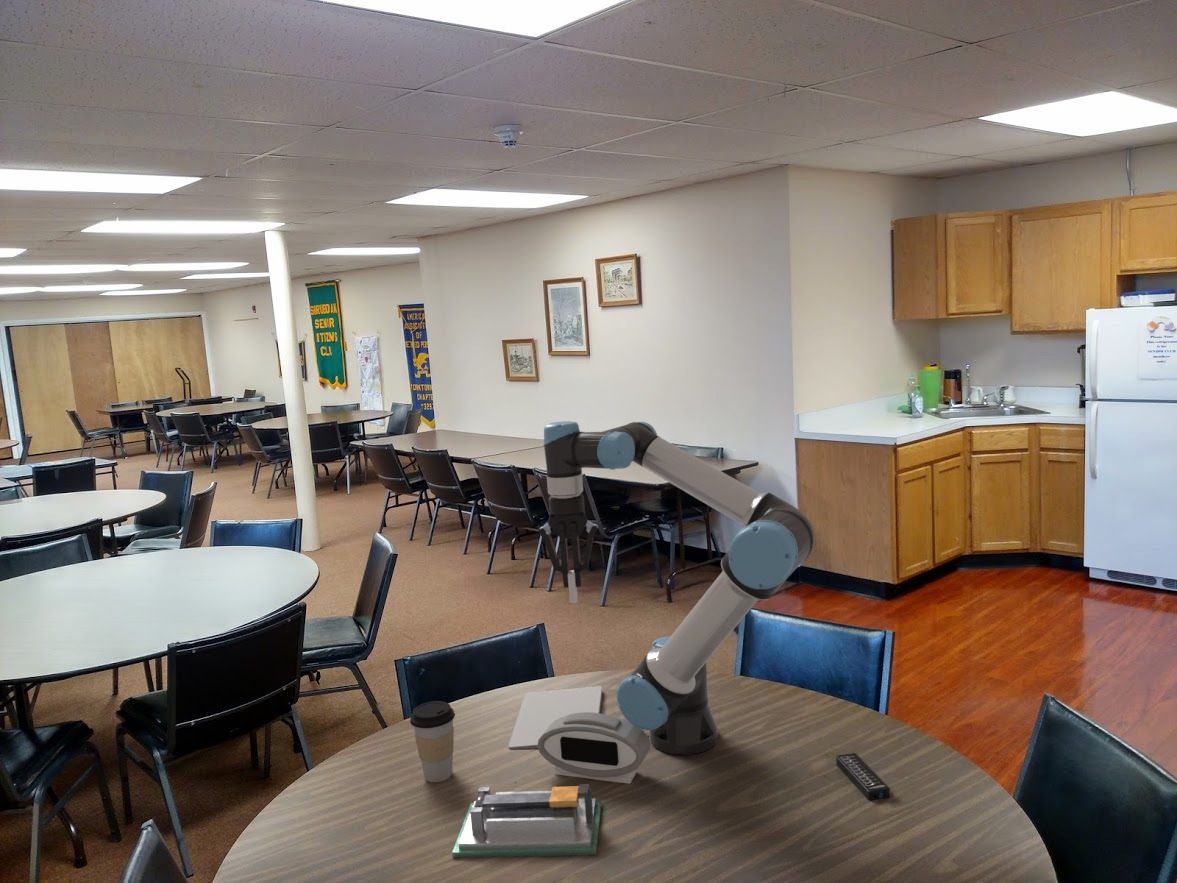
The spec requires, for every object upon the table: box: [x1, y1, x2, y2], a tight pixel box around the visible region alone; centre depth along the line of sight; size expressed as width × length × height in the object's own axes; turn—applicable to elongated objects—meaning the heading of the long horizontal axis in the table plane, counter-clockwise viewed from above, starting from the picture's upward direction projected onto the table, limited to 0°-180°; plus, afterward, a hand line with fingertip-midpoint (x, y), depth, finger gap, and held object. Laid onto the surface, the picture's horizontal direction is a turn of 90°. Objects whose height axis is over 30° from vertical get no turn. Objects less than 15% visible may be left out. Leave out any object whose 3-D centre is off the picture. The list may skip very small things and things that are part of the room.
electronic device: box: [508, 685, 603, 750], centre depth 208 cm, size 29×20×2 cm
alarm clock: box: [537, 712, 652, 784], centre depth 180 cm, size 23×6×13 cm, turn 70°
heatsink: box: [451, 783, 602, 858], centre depth 162 cm, size 26×16×8 cm, turn 86°
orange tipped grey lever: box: [474, 785, 579, 808], centre depth 162 cm, size 19×5×2 cm, turn 86°
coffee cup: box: [409, 700, 456, 783], centre depth 184 cm, size 9×9×15 cm
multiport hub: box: [835, 752, 891, 802], centre depth 171 cm, size 4×14×2 cm, turn 9°
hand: (573, 601), depth 187 cm, fingers closed
